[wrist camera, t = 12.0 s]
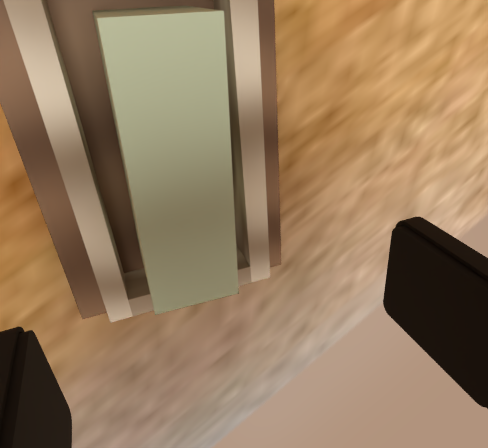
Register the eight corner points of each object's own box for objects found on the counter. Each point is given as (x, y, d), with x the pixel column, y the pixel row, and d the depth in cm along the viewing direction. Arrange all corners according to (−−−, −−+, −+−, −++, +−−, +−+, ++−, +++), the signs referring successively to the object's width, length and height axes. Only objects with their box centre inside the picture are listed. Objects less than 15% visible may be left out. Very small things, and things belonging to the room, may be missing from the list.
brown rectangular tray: (275, 256, 28) (297, 286, 25) (82, 308, 25) (82, 349, 22) (262, -109, 18) (297, -128, 15) (-71, -101, 15) (-107, -123, 12)
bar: (185, 5, 18) (223, 10, 13) (206, 232, 24) (238, 293, 19) (92, 10, 17) (96, 17, 12) (139, 246, 23) (155, 314, 18)
